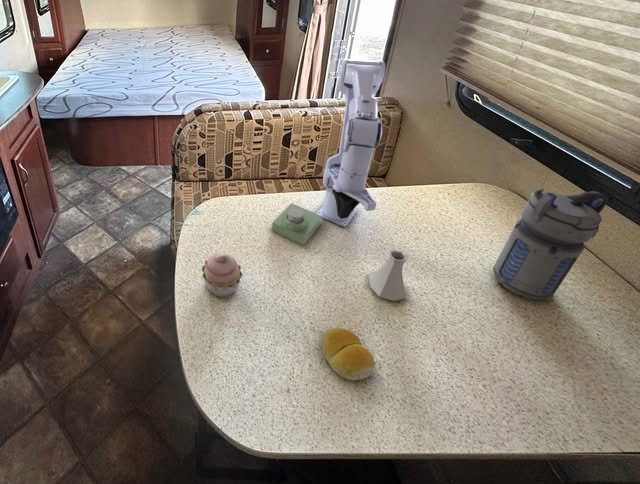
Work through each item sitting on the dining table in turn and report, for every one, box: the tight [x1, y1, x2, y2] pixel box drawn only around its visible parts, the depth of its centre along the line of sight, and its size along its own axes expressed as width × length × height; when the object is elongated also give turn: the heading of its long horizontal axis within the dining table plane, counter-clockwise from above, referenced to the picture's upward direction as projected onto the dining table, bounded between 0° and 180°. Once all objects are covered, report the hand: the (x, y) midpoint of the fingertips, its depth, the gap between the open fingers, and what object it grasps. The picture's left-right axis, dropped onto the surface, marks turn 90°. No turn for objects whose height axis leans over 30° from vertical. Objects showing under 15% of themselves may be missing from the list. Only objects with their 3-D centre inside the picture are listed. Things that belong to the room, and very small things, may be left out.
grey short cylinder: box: [288, 209, 303, 223], centre depth 98 cm, size 4×4×2 cm
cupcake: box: [201, 252, 244, 298], centre depth 83 cm, size 9×9×10 cm
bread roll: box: [321, 327, 376, 382], centre depth 69 cm, size 8×9×4 cm
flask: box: [368, 249, 408, 302], centre depth 81 cm, size 7×7×10 cm
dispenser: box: [271, 202, 323, 246], centre depth 101 cm, size 11×9×4 cm
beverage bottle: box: [492, 188, 609, 301], centre depth 77 cm, size 10×13×25 cm
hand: (342, 216), depth 90 cm, fingers closed
